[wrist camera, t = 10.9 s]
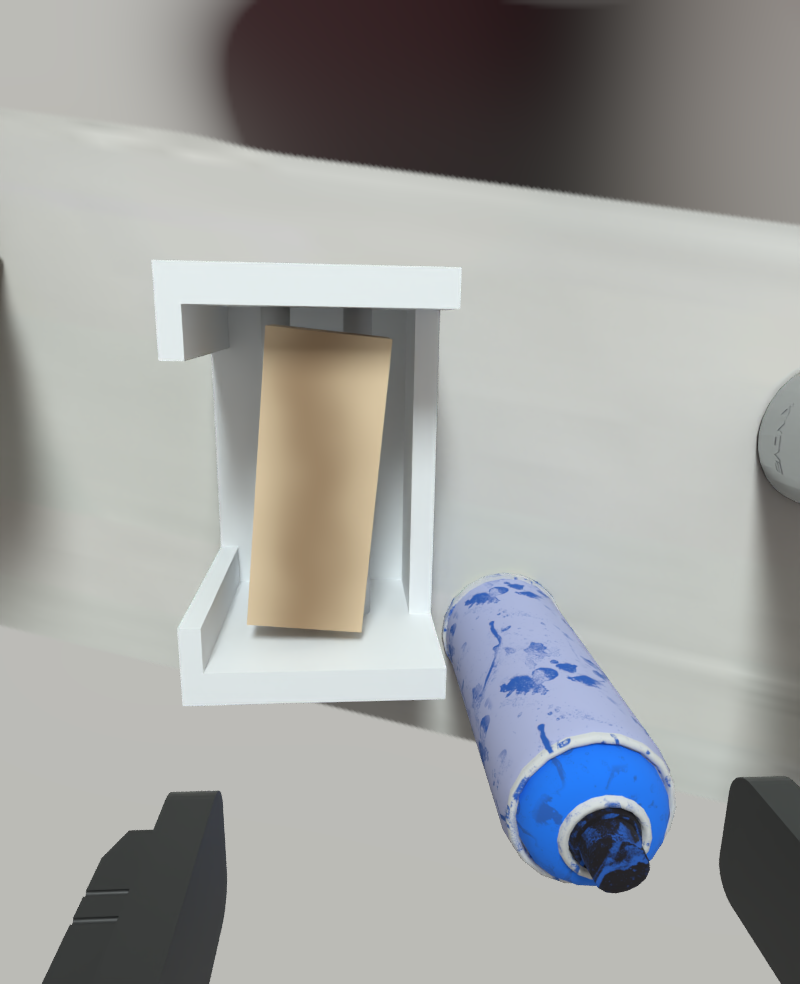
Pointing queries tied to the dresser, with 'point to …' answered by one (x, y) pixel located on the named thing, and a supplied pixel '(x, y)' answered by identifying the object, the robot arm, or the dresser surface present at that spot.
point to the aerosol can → (556, 739)
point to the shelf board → (316, 476)
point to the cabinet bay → (237, 396)
